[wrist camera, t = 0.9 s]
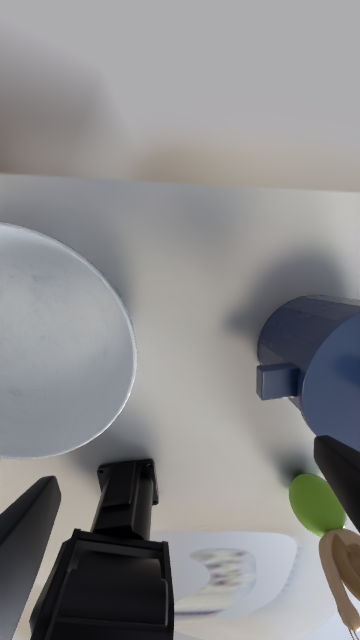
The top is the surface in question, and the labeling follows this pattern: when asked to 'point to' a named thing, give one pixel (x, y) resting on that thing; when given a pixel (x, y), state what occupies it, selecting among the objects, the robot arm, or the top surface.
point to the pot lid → (334, 382)
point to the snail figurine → (330, 540)
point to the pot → (294, 342)
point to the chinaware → (58, 347)
